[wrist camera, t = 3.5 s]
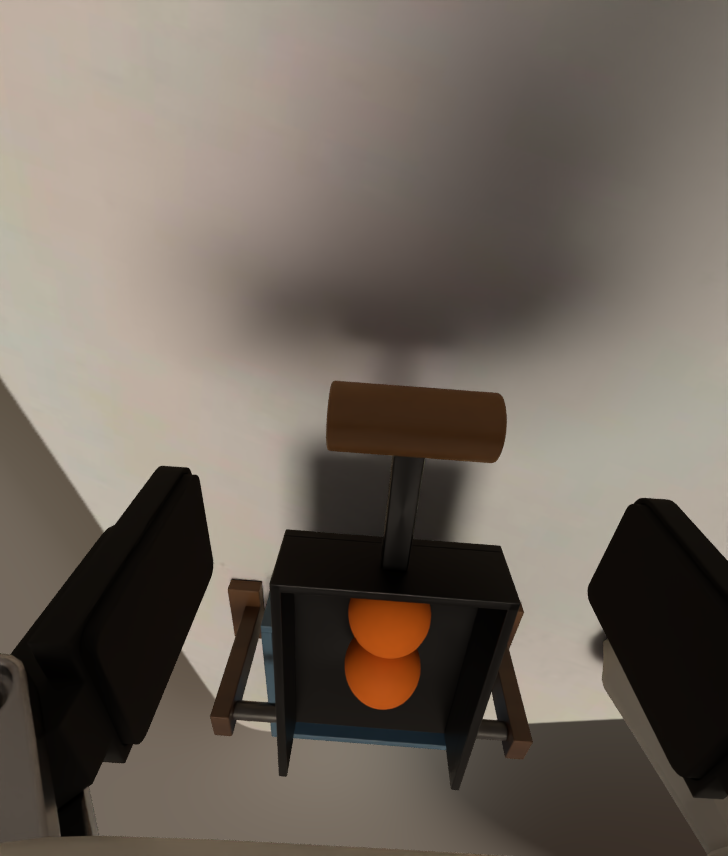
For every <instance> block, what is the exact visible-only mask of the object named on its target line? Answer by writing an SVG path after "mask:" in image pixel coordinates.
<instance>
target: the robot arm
mask: <svg viewBox="0 0 728 856" xmlns="http://www.w3.org/2000/svg"><path fill="white" fill-rule="evenodd" d="M212 572H213V557H212V551H211V545H210V539H209V533H208V527H207V521H206V515H205V509H204V503H203V497H202V491H201V485H200V480H199V477H198V476H197V475H192V473H191V471H190V469H189V468H186V467H171V466H160V467H158V468H157V469H156V470H155V472H154V473H153V474H152V476H151V477H150V479H149V480H148V481H147V483H146V484H145V485H144V487H143V488H142V489H141V491H140V492H139V493H138V495H137V496H136V497H135V499H134V500H133V501H132V503H131V504H130V505H129V507H128V508H127V509H126V511H125V512H124V513H123V515H122V516H121V517H120V519H119V520H118V521H117V523H116V524H115V525H113V526H111V527H109V528H108V529H107V530H106V531H105V532H104V533H103V534H102V535H101V537H100V538H99V539H98V540H97V542H96V543H95V544H94V546H93V547H92V548H91V550H90V551H89V552H88V554H87V555H86V556H85V558H84V559H83V560H82V561H81V563H80V564H79V565H78V567H77V568H76V569H75V571H74V572H73V573H72V574H71V576H70V577H69V578H68V580H67V581H66V582H65V584H64V585H63V586H62V587H61V589H60V590H59V591H58V593H57V594H56V596H55V597H54V598H53V599H52V601H51V602H50V603H49V605H48V606H47V607H46V608H45V610H44V611H43V612H42V614H41V615H40V616H39V618H38V619H37V620H36V621H35V623H34V624H33V626H32V627H31V628H30V629H29V631H28V632H27V633H26V635H25V636H24V638H23V639H22V640H21V641H20V642H19V644H18V645H17V646H16V648H15V649H14V650H13V652H12V653H11V654H3V653H0V856H506V855H489V854H472V853H471V854H470V853H455V852H436V851H420V850H403V849H386V848H367V847H347V846H330V845H311V844H292V843H274V842H255V841H237V840H218V839H190V838H189V839H188V838H158V837H128V836H127V837H126V836H99V833H98V828H97V823H96V819H95V814H94V809H93V804H92V799H91V794H90V789H89V786H90V785H91V784H93V781H94V779H95V777H96V775H97V773H98V771H99V768H100V766H101V764H102V762H112V763H125V762H126V760H127V757H128V755H129V752H130V750H131V748H132V745H133V744H140V743H141V742H142V741H143V739H144V738H145V736H146V734H147V732H148V729H149V727H150V724H151V722H152V720H153V717H154V715H155V712H156V710H157V707H158V705H159V703H160V700H161V698H162V695H163V693H164V690H165V688H166V685H167V683H168V681H169V678H170V676H171V673H172V671H173V669H174V666H175V664H176V661H177V659H178V656H179V654H180V652H181V649H182V647H183V644H184V642H185V640H186V637H187V635H188V632H189V630H190V627H191V625H192V623H193V620H194V618H195V615H196V613H197V610H198V608H199V606H200V603H201V601H202V598H203V596H204V593H205V591H206V589H207V586H208V584H209V581H210V579H211V576H212ZM588 599H589V602H590V604H591V606H592V608H593V610H594V612H595V614H596V616H597V618H598V620H599V622H600V624H601V626H602V628H603V630H604V632H605V634H606V636H607V638H608V640H609V643H610V645H611V647H612V649H613V651H614V653H615V655H616V657H617V659H618V661H619V663H620V665H621V667H622V669H623V671H624V673H625V675H626V677H627V679H628V681H629V683H630V685H631V687H632V689H633V691H634V693H635V695H636V697H637V699H638V701H639V703H640V705H641V707H642V709H643V711H644V713H645V715H646V717H647V719H648V721H649V723H650V725H651V727H652V729H653V731H654V733H655V735H656V737H657V739H658V741H659V743H660V745H661V747H662V749H663V751H664V753H665V756H666V758H667V760H668V762H669V763H670V765H671V767H672V769H673V770H674V771H675V772H676V773H677V774H678V775H679V776H681V777H683V779H684V781H685V783H686V785H687V787H688V789H689V790H690V792H691V794H692V796H693V798H707V799H725V798H726V797H727V796H728V561H727V560H726V559H725V557H724V556H723V555H722V554H721V553H720V552H719V551H718V550H717V549H716V547H715V546H714V545H713V544H712V543H711V542H710V541H709V540H708V539H707V538H706V536H705V535H704V534H703V533H702V532H701V531H700V530H699V529H698V528H697V527H696V525H695V524H694V523H693V522H692V521H691V520H690V519H689V518H688V517H687V515H686V514H685V513H684V512H683V511H682V510H681V509H680V508H679V507H678V506H677V504H675V503H674V502H673V501H671V500H666V499H651V498H640V499H638V500H637V501H636V502H635V503H634V504H631V505H629V506H628V507H627V509H626V511H625V513H624V515H623V517H622V519H621V521H620V523H619V525H618V527H617V529H616V531H615V533H614V535H613V537H612V539H611V541H610V543H609V545H608V547H607V549H606V551H605V553H604V555H603V557H602V559H601V561H600V563H599V565H598V567H597V569H596V571H595V573H594V575H593V577H592V580H591V582H590V584H589V586H588Z"/></svg>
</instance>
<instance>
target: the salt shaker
mask: <svg viewBox="0 0 728 856" xmlns="http://www.w3.org/2000/svg"><path fill="white" fill-rule="evenodd" d="M602 682H603V686H604V689H605V690H606V692H607V693H608V695H609V697H610V698H611V700H612V701H613V703H614V704H615V706H616V708H617V709H618V711H619V712H620V714H621V715H622V717H623V719H624V720H625V722H626V723H627V725H628V726H629V728H630V730H631V731H632V733H633V734H634V736H635V738H636V739H637V741H638V743H639V744H640V746H641V747H642V749H643V751H644V752H645V754H646V756H647V757H648V758H649V760H650V762H651V764H652V765H653V767H654V769H655V770H656V772H657V773H658V775H659V777H660V778H661V780H662V781H663V783H664V785H665V786H666V788H667V790H668V791H669V793H670V794H671V796H672V798H673V799H674V801H675V803H676V804H677V806H678V807H679V809H680V810H681V812H682V814H683V816H684V817H685V818H686V820H687V822H688V823H689V825H690V827H691V829H692V830H693V832H694V833H695V835H696V837H697V838H698V840H699V841H700V843H701V845H702V846H703V848H704V850H705V851H706V853H707V854H708V855H707V856H728V796H727V797H726V798H725V799H707V798H693V796H692V794H691V792H690V790H689V789H688V787H687V785H686V783H685V781H684V779H683V777H681V776H679V775H678V774H677V773H676V772H675V771H674V770H673V769H672V767H671V765H670V763H669V762H668V760H667V758H666V756H665V753H664V751H663V749H662V747H661V745H660V743H659V741H658V739H657V737H656V735H655V733H654V731H653V729H652V727H651V725H650V723H649V721H648V719H647V717H646V715H645V713H644V711H643V709H642V707H641V705H640V703H639V701H638V699H637V697H636V695H635V693H634V691H633V689H632V687H631V685H630V683H629V681H628V679H627V677H626V675H625V673H624V671H623V669H622V667H621V665H620V663H619V661H618V659H617V657H616V655H615V653H614V651H613V649H612V647H611V645H610V643H609V640H608V639H606V640H605V641H603V672H602Z"/></svg>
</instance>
